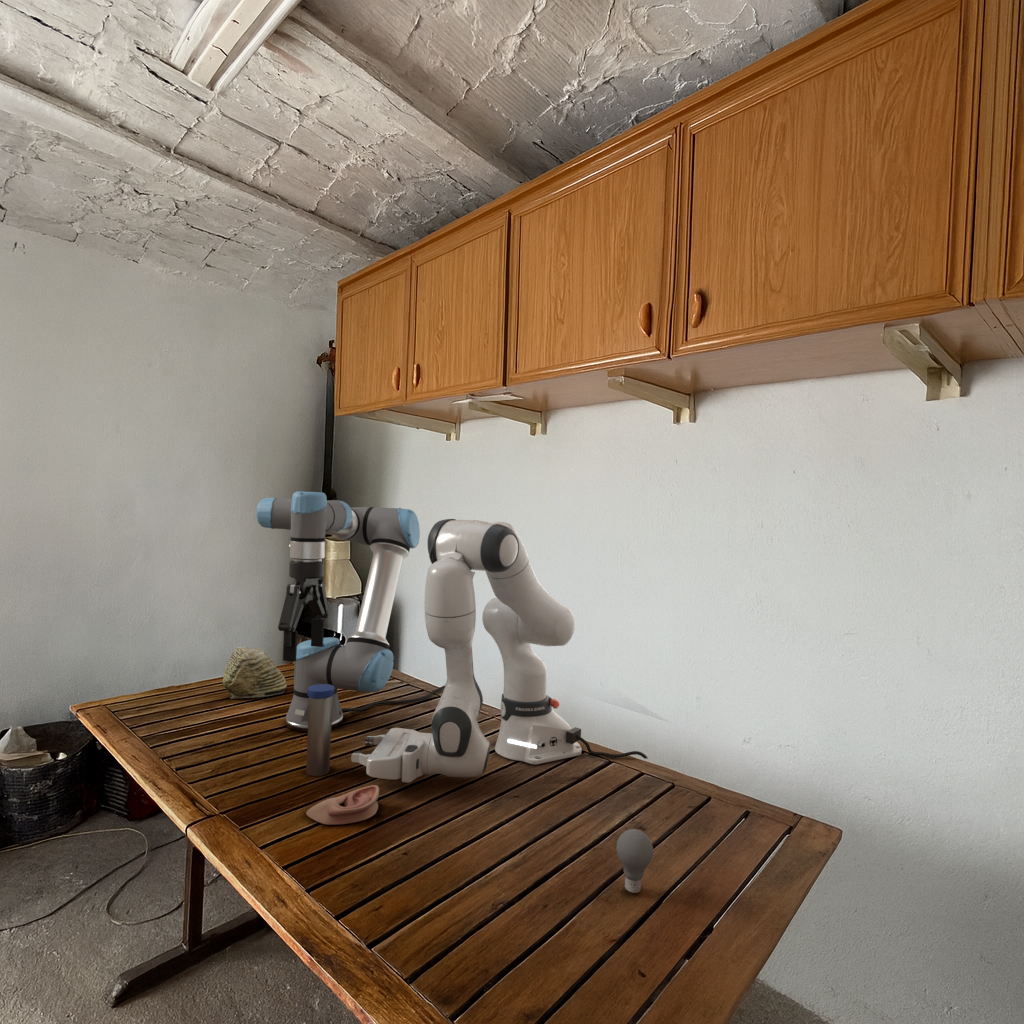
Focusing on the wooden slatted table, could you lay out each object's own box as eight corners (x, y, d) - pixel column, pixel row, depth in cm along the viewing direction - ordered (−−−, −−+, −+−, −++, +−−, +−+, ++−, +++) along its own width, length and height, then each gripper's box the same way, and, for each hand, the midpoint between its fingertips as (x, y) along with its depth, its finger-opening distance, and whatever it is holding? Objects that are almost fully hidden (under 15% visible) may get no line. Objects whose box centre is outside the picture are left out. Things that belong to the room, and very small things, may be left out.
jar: (314, 765, 149) (317, 685, 149) (333, 768, 148) (336, 687, 147) (301, 774, 144) (304, 691, 144) (321, 777, 143) (325, 694, 142)
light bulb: (610, 879, 108) (613, 822, 108) (644, 879, 109) (647, 822, 109) (619, 902, 102) (622, 840, 102) (655, 901, 103) (658, 840, 103)
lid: (316, 689, 149) (316, 682, 149) (339, 692, 148) (339, 685, 148) (301, 696, 143) (302, 689, 143) (325, 700, 142) (325, 692, 142)
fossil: (218, 695, 195) (220, 647, 195) (278, 685, 208) (279, 640, 207) (228, 703, 189) (230, 653, 188) (289, 692, 201) (290, 645, 201)
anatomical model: (298, 800, 123) (327, 775, 135) (298, 820, 123) (326, 794, 135) (362, 810, 121) (386, 784, 132) (361, 830, 121) (385, 803, 132)
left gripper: (315, 554, 156) (312, 639, 156) (262, 564, 131) (259, 666, 132) (344, 555, 155) (341, 641, 155) (297, 566, 130) (293, 668, 131)
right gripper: (428, 723, 154) (373, 719, 155) (408, 756, 134) (344, 751, 135) (427, 749, 154) (372, 744, 155) (407, 786, 134) (343, 781, 135)
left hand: (303, 653), depth 144 cm, fingers open, 13 cm apart
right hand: (359, 748), depth 145 cm, fingers open, 8 cm apart
